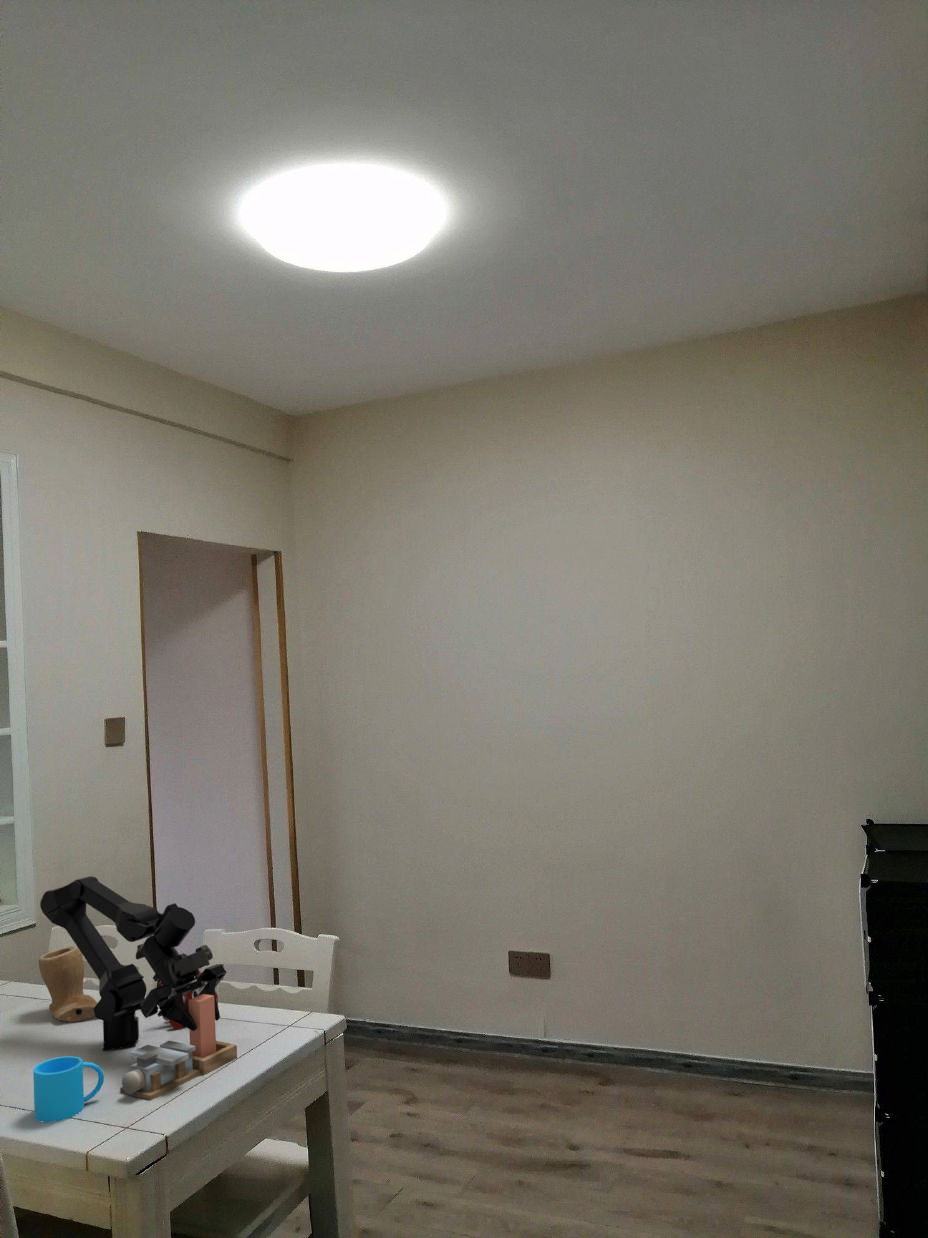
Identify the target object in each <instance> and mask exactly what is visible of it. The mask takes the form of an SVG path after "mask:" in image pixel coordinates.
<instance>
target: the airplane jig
mask: <svg viewBox="0 0 928 1238" xmlns="http://www.w3.org/2000/svg"><path fill="white" fill-rule="evenodd" d="M237 1048H238V1046H237V1044H234V1043H229V1042H224V1041H218V1040H216V1052H215V1053H213V1054H211V1055H209V1056H207V1057H205V1058H201V1057H197V1056H192V1051H194V1050H196V1046H193V1045H190V1044H187V1043H182V1042H177V1041H173V1040H168V1041H165V1042H163V1043H161V1044H159V1046H156V1045H152V1044H151V1045H150V1044H146V1045H144V1046H142V1047H139V1048H137V1049H135V1050H132V1051H130V1056H131V1058H134V1059H136V1063H133V1064H132V1065H130V1071H128V1072H127V1073H125V1074H123V1076H122V1078H121V1084H122V1087H120V1088H119V1089H120V1090H119V1091H120V1093H121V1094H124V1095H128V1096H129V1095H130V1096H132V1097H135V1098H136V1097H137V1098H140V1099H144V1100H148V1101H152V1100H154V1099H156V1098H159V1097H160V1096H162V1095H164V1094H165V1093H168V1092H169V1091H172V1090H174V1089H175V1088H177V1087H179V1086H182V1085H183V1084H185V1083H187V1082H189V1081H191V1080H193V1079H195V1078H196V1077H199V1076H200V1075H206V1074H208V1073H210V1072H213V1071H214V1070H216V1069H218V1068H220V1067H222V1066H224V1065H226V1064H228V1063H229V1062H233V1060H236V1059H238V1049H237Z"/></svg>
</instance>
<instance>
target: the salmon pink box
mask: <svg viewBox="0 0 928 1238" xmlns="http://www.w3.org/2000/svg"><path fill="white" fill-rule="evenodd" d="M188 1003H189V1013H190V1015H191V1016H192V1018H193V1019H194V1021H195V1023H196V1025H197V1029H196V1030H195V1031H192V1030H190V1029H188V1030H189V1045H193V1046H196V1050H194V1051H192V1056H197V1057H201V1058H205V1057H207V1056H209V1055H211V1054H213V1053H215V1052H216V1041H217V1037H216V1036H217V1035H216V1033H217V1032H216V1020H215V1004H214V996H213V995H207V994H202V995H199V996H197V997H195V998H194V997H192V999H190V1000H188Z"/></svg>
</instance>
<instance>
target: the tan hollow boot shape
mask: <svg viewBox="0 0 928 1238" xmlns="http://www.w3.org/2000/svg"><path fill="white" fill-rule="evenodd" d="M38 967H39V968H38V969H39V974H40V976H41V978H42V980H43V982H44V984H45V986H46V988H47V991H48V993H49V995H50V998H51V1003H49V1006H48V1011H49V1012H50V1013H51V1015H52V1016H53V1017H55V1019H57V1020H58V1021H59V1020H60V1021H65V1022H75V1023H76V1022H82V1021H84V1020H87V1019H90V1018H93V1017H94V1016H95V1014H94V1007H95V1006H96V1005H97V1003H98V1002H97V1000H96V999H95V998H94V997H92V996H91V995H89V994H84V976H85V964H84V956H83V954H82V953H81V951H80V950H79V948H78V947H77V946H73V945H70V946H65V947H62V948H58V949H56V950H53V951H52V950H51V951H49V952H46V953H44V954H43V955H41V956H39V958H38Z"/></svg>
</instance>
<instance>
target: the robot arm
mask: <svg viewBox="0 0 928 1238" xmlns="http://www.w3.org/2000/svg"><path fill="white" fill-rule="evenodd" d="M39 903H40V904H39V905H40V910H41V911H42V913H43V915H45V917H46V918H47V919H48V920H49V921H50V922H51V924H54V925H56V926H58V927H60V928H63V929H64V930H65V931H66V932H67V934H68V935H69V936H70V938H71V940H72V941H73V943H74V944H75V945H76V947H78V948H79V950H80V951H81V953H82V956H83V958H84V959H85V961H87V963H88V965H89V966H90V968H91V970H92V971H93V972H94V974H95V975H96V976H97V978H98V982H99V984H98V985H99V988H98V995H99V996H100V999H99V1000H98V1002H97V1005H96V1006H95V1007H94V1014H95V1015H94V1016H95V1019H96V1020H99V1021H102V1030H103V1031H102V1032H103V1036H102V1037H103V1045H102V1047H101V1048H102V1051H110V1050H111V1051H112V1050H118V1049H125V1048H132V1047H133V1048H134V1047H136V1044H137V1041H138V1040H139V1039H140V1026H139V1023H140V1022H139V1019H140V1018H139V1016H136V1011H139V1010H140V1012H141V1014H142V1016H143V1017H144V1019H147V1018H150V1017H153V1016H155V1015H157V1016H158V1017H162V1016H163V1017H166V1018H168V1019H170V1020H173V1021H175V1022H177V1023H179V1024H181V1025H183V1026H184V1028H186V1029H188V1030H189V1029H190V1030H192V1031H195V1030H196V1029H197V1025H196V1023H195V1021H194V1019H193V1018H192V1016H191V1015H190V1013H189V1011H188V1010H187V1008H186V1006H185V1005H184V1003H183V995H184V994H186V993H188V992H191V991H193V990H195V992H196V993H197V995H198V996H199V995H202V994H207V995H213V996H214V1004H215V1022H216V1021H219V1019H220V1018H221V1014H220V1010H219V1004H218V1005H217V1001H216V996H215V991H216V988H217V986H218V985H219V984H220V982H221V981H222V979H223V978H224V977H225V976H226V974H227V973H228V972H227V971H226V969H225V967H224V966H223V964H219V963H216V964H214V965H210V964H211V963H210V961H211V960H212V959H213V957H214V956H213V955H214V954H213V952H212V950H211V949H210V947H209V946H208V945H207V944H204V945H201V946H199V947H198V948H196V949H195V952H193V953H191V954H188V955H187V953H179V952H178V950H177V949H176V947H179V946H180V945H181V944H182V942H183V941H184V940H185V938H186V937H187V936H188V935H189V933H190V932H191V931H192V929H193V928H194V927H195V924H196V919H195V915H194V914H193V913H192V912H191V911H189V910H187V909H186V908H183V907H179V906H178V905H177V903H171V904H168V905H167V906H166V907H165V909H164V911H163V913H162V912H159V910H157V909H156V908H154V907H152V906H150V905H147V904H145V903H137V902H131V901H130V900H127V899H126V898H124V897H123V896H122V895H120V894H118V893H117V892H116V891H114V890H112V889H111V888H109V887H107V885H105V884H103V883H101V882H100V881H99V880H98V878H97V877H96V876H92V875H89V876H86V877H82V878H78V879H77V878H76V879H75V880H73V881H71V882H70V883H68V884H66V885H64V886H62V887H57V888H54V889H49V890H47V891H45V892H44V893H43V894H42V897H41V899H40V902H39ZM87 905H88V906H90V907H92V908H93V909H94V910H96V911H98V912H99V913H100V914H102V915H103V916H105V917H106V918H108V919H109V920H111V921H113V923H115V927H116V931H117V933H119V934H120V935H121V937H123V938H124V939H125V940H126V941H127V942H129V943H134V942H138V941H141V940H143V939H145V941H143V943H141V944H138V945H136V947H137V950H136V953H135V959H136V960H141V959H143V958H145V961H146V962H147V963H148V965H149V966H150V968H151V969H152V971H153V973H154V975H153V977H152V979H153V981H154V982H158V981H159V983H160V982H161V983H162V986H160V987H159V986H157V987H155V988H153V989H151V990H150V991H149V993H148V994H147V985H146V984H147V983H146V982H145V981H144V976H143V975H142V974H141V973H140V972H139V970H138V969H137V967H136V965H135V964H134V963H130V964H127V965H123V964H121V963H120V961H119V959H118V958H117V957H116V956H115V954H114V952H113V951H112V950H111V948H110V947H109V946H108V944H107V943H106V941H105V939H104V937H102V935H101V934H100V932H99V931H98V929H97V927H96V926H95V925H94V924H93V922H92V921H91V919H90V918H89V916H88V915H87ZM205 966H206V968H205V969H204V970H203V971H202V974H201V975H200V976H199V977H198V978H197V979H195V976H196V975H198V973H199V972H201V971H200V970H199V969H202V968H203V967H205ZM208 966H209V967H208ZM189 986H190V987H189ZM146 994H147V995H146ZM158 1010H159V1012H158ZM163 1017H162V1018H163Z"/></svg>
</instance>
